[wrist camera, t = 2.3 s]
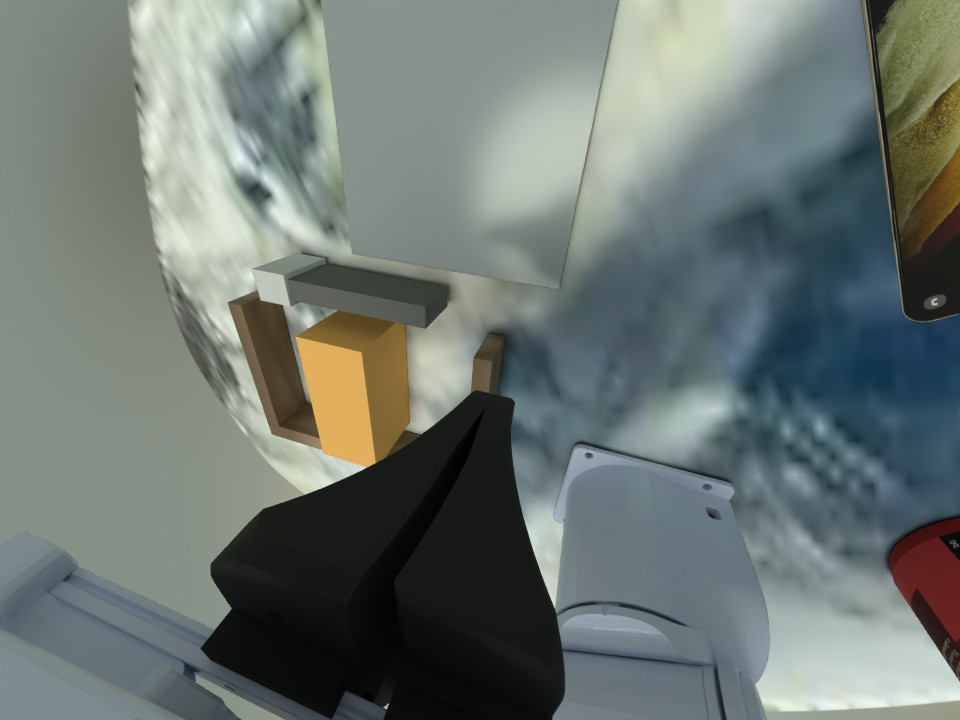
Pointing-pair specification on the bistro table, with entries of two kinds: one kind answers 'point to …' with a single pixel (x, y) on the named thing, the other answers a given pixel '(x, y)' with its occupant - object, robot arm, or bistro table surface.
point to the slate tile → (466, 128)
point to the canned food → (933, 583)
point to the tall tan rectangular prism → (357, 384)
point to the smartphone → (920, 144)
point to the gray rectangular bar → (349, 290)
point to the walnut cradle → (281, 380)
